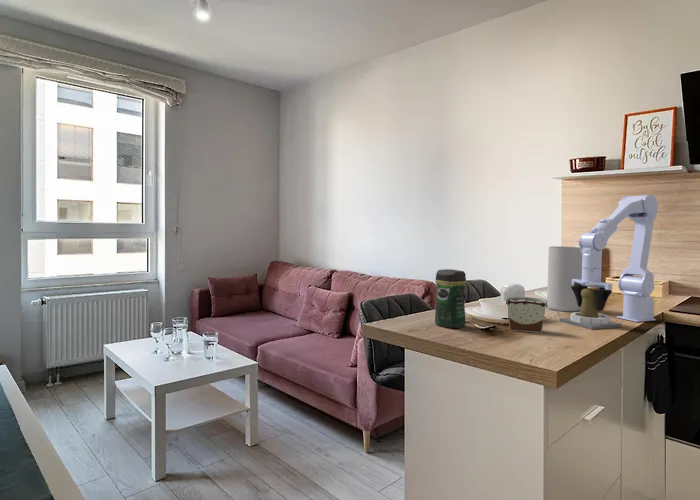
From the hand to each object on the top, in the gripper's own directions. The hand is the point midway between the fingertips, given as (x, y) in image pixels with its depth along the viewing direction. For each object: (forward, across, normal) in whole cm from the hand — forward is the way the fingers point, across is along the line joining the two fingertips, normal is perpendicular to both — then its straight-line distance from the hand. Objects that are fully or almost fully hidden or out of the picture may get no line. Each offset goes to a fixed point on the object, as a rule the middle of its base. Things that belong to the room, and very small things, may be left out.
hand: (590, 308), depth 149 cm
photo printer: (+6, -17, -18) cm, 25 cm away
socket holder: (+5, 0, 0) cm, 5 cm away
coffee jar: (+6, -12, -47) cm, 49 cm away
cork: (+4, 0, 0) cm, 5 cm away
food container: (+6, 0, -27) cm, 28 cm away
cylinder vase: (+6, -25, +14) cm, 29 cm away
